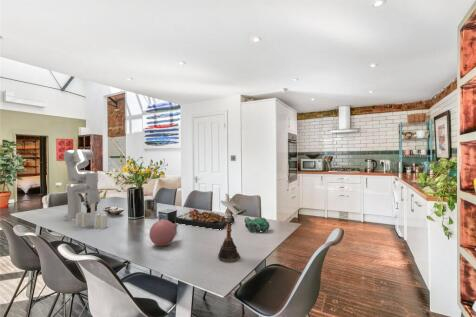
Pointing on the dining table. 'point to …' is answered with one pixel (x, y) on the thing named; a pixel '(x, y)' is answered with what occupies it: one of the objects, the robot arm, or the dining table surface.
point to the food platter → (202, 219)
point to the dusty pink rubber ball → (162, 232)
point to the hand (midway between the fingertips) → (91, 211)
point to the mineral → (256, 224)
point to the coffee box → (150, 209)
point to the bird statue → (228, 248)
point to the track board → (91, 227)
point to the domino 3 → (92, 209)
